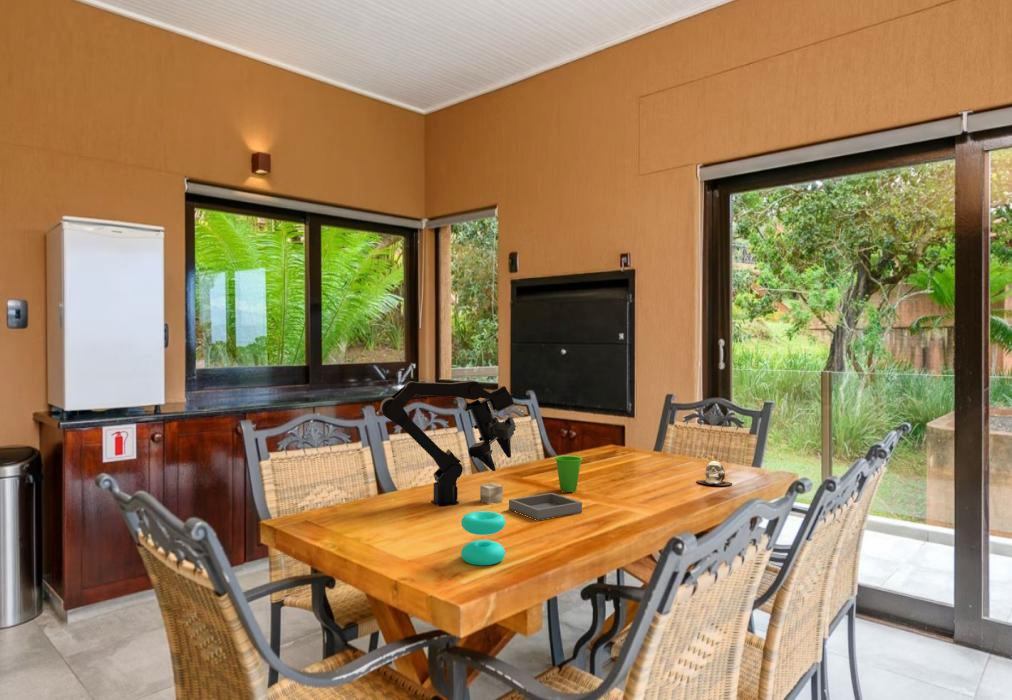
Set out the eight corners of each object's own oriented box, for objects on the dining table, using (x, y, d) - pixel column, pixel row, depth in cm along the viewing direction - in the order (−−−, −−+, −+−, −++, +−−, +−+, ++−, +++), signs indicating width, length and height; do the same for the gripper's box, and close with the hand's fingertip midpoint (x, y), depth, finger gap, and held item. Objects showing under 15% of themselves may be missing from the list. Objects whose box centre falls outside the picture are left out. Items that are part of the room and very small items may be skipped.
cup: (587, 491, 213) (587, 457, 213) (570, 495, 206) (571, 461, 206) (565, 486, 219) (566, 454, 219) (549, 491, 212) (549, 458, 212)
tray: (537, 521, 177) (537, 510, 177) (508, 509, 188) (509, 499, 188) (581, 512, 186) (582, 502, 186) (551, 502, 197) (551, 492, 197)
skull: (732, 486, 217) (711, 461, 220) (708, 503, 221) (688, 479, 224) (738, 478, 227) (718, 455, 231) (716, 495, 232) (696, 472, 235)
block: (488, 504, 195) (489, 488, 195) (480, 501, 199) (480, 485, 199) (502, 502, 197) (502, 486, 197) (493, 499, 202) (493, 483, 201)
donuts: (511, 512, 148) (495, 523, 139) (511, 555, 149) (495, 569, 139) (472, 508, 152) (453, 518, 143) (471, 550, 152) (453, 563, 143)
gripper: (487, 426, 186) (506, 475, 188) (519, 402, 201) (537, 447, 203) (459, 432, 193) (478, 479, 195) (492, 408, 208) (509, 452, 210)
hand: (502, 464), depth 200 cm, fingers open, 9 cm apart
